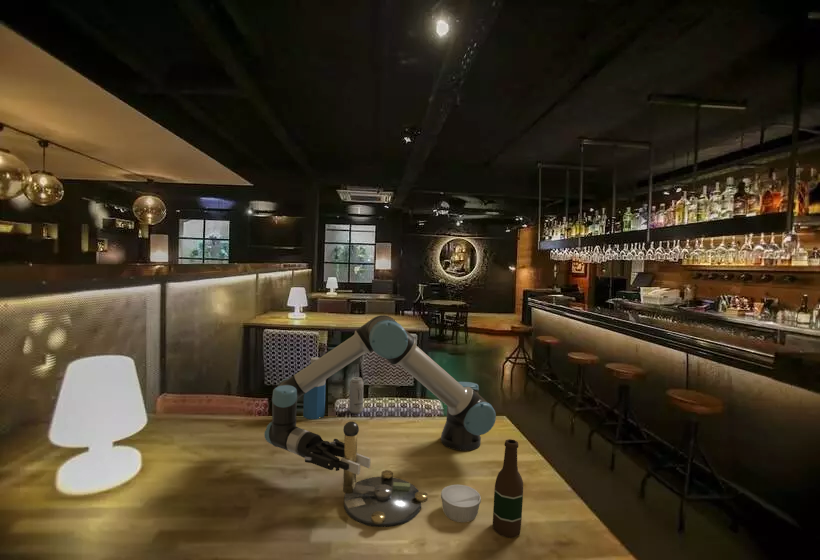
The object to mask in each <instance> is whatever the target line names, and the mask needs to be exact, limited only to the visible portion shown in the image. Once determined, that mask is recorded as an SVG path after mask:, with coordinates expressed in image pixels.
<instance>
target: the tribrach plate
mask: <svg viewBox="0 0 820 560" xmlns="http://www.w3.org/2000/svg"><path fill="white" fill-rule="evenodd" d="M382 484H385V485H389V486H390V487H391V488H392V497H391V498H390V499H389V500H386V501H380V500H377V499H376V498H375V497H374V495H366V494H357V493H350V494H347V493H344V495H343V496H344V501H343V502H344V503H343V507H344V511H345V513H346V514H347V515H348V516H349V517H350V518H351V519H352V520H353V521H355V522H357V523H359V524H361V525H365V526H367V527H368V526H369V527H373V528H374V527H375V528H392V527H397V526H401V525H404V524H406V523H408V522H410V521H412V520H413V519H414V518H416V516H418V515H419V513H420V511H421V508H422V504H423V503H426V502H427V501H428V497H429V494H428V493H427V492H424V491H420V490H419V489H418V487H416V486H415V485H413V483H411V482H409V481H406V480H404V479H402V478H397V477H394V472H393V471H392V470H389V469H385V470H382V471H381V476H374V477H373V476H372V477H369V478H368V477H367V478H364V479H361V480H359V481H356V485H363V486H372V487H376V486H378V485H382Z"/></svg>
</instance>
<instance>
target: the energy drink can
mask: <svg viewBox="0 0 820 560" xmlns="http://www.w3.org/2000/svg"><path fill="white" fill-rule="evenodd" d="M364 384H365V383H364V381H363V378H362V377H359V376H358V377H357V376H355V377H352V378H351V380H350V382H349V400H348V401H349V404H348V405H349V409H348V410H349V411H350V413H351V414H354V415H356V414H357V415H359V414H361V413H362V412H363V410H364Z"/></svg>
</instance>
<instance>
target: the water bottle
mask: <svg viewBox="0 0 820 560" xmlns="http://www.w3.org/2000/svg"><path fill="white" fill-rule="evenodd" d="M319 358H320V357H316V356H315V357H310V363H309V365H310V364H312V363H313V362H315V361H316V360H318V359H319ZM326 381H327V379H326V380H324V381H323V382H321V383H320V384H318V385H317V386H315V387H314V388H312V389H311V390H309V391H308V392H306V393H305V394H304V395H303V407H302V408H303V410H302V411H303V413H302V414H303V418H305V419H307V420H318V419H320V418H319V417H322V418H324V417H325V414H326V385H327V384H326Z"/></svg>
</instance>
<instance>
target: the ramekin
mask: <svg viewBox="0 0 820 560" xmlns="http://www.w3.org/2000/svg"><path fill="white" fill-rule="evenodd" d="M440 499H441V505H442V511H443V513H444V515H445V516H446V517H447V518H448V519H449V520H450V521H451V520H452V521H453V522H456V523H467V522H471V521H473V520H474V519H475V518H476V517H477V516H478V512H479V507H480V504H481V502H482V498H481V495H480V493H479V492H478V491H477V490H476V489H475V488H473V487H471V486H469V485H465V484H451V485H448V486H444V487H443V488H442V490H441V493H440Z"/></svg>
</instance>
